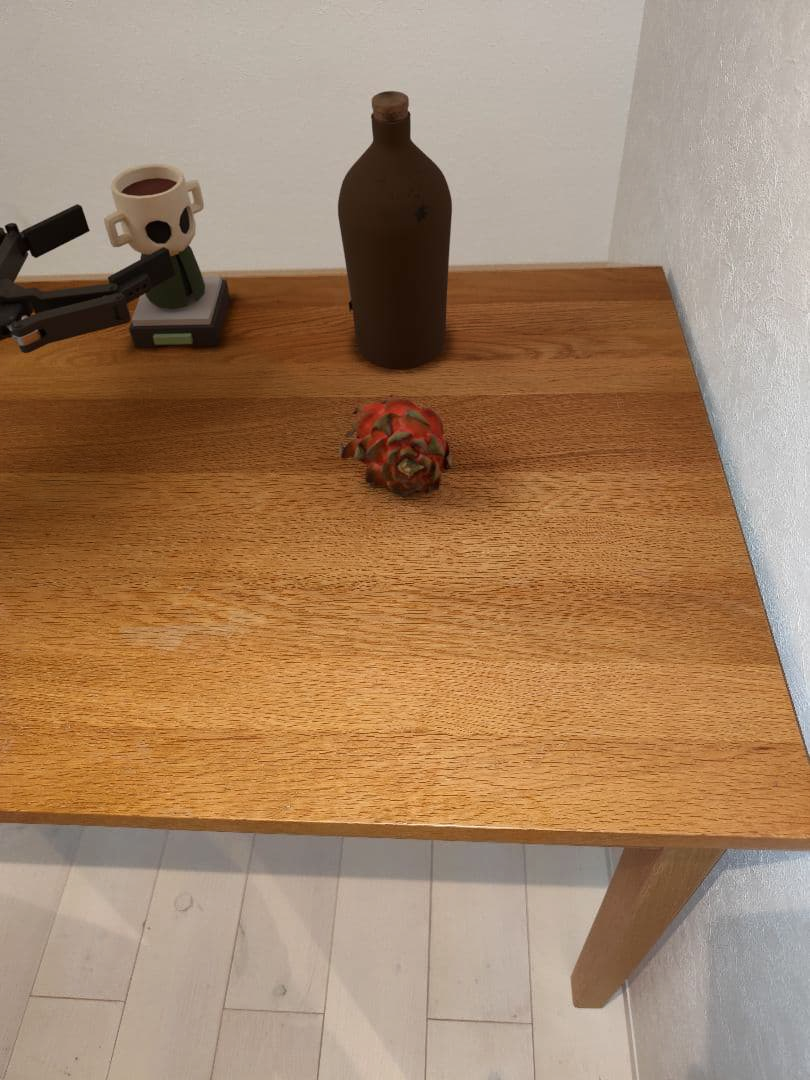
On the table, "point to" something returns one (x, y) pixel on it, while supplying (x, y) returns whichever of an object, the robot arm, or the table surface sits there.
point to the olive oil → (396, 242)
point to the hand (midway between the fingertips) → (125, 238)
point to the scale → (183, 319)
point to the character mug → (159, 226)
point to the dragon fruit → (399, 446)
